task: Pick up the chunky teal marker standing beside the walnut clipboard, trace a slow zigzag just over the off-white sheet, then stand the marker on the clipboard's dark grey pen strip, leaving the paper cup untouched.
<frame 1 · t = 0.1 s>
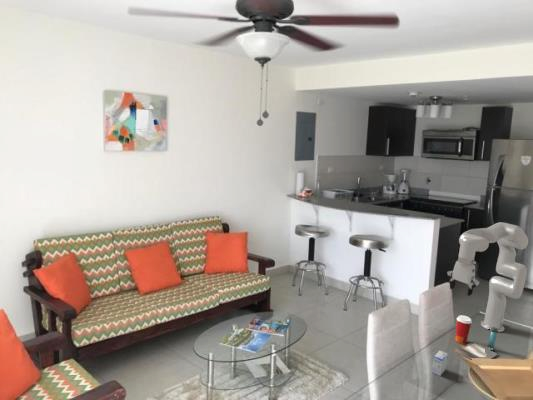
hand: (460, 291, 230), 31 cm above the table, fingers open, 9 cm apart
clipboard: (476, 353, 229), on the table
paper cup: (460, 341, 241), on the table
medicine box: (438, 371, 210), on the table
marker: (490, 349, 235), on the table
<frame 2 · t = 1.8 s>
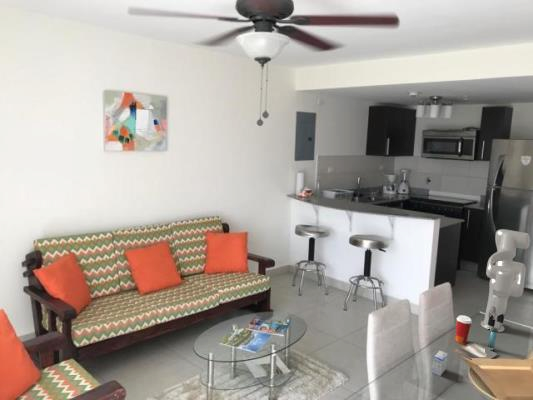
hand: (495, 323, 232), 15 cm above the table, fingers open, 9 cm apart
nothing on the table moved.
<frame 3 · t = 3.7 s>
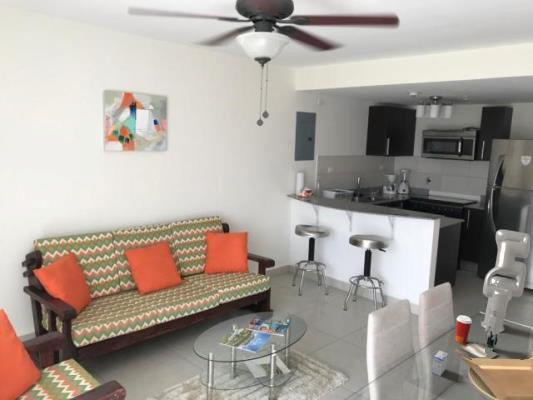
hand: (491, 344, 235), 3 cm above the table, fingers closed on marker, 2 cm apart
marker: (490, 349, 235), on the table, touching gripper
everything else where it was.
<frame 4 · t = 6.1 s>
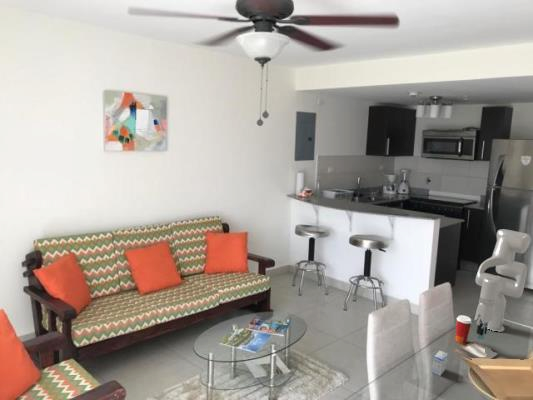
hand: (481, 333, 232), 9 cm above the table, fingers closed on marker, 2 cm apart
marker: (480, 338, 233), point 6 cm above the table, touching gripper
everything else where it was.
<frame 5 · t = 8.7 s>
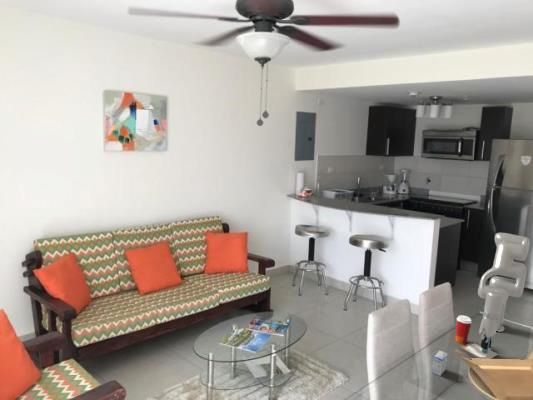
hand: (485, 347, 229), 4 cm above the table, fingers closed on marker, 2 cm apart
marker: (484, 352, 229), point 1 cm above the table, touching gripper
everything else where it was.
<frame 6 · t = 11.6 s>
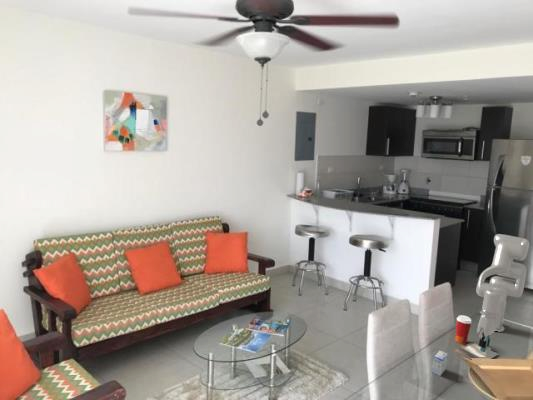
hand: (483, 345, 225), 6 cm above the table, fingers closed on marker, 2 cm apart
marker: (482, 350, 226), point 3 cm above the table, touching gripper
everything else where it was.
when the fingers open (5 cm above the table, at t = 14.0 s): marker stays where it is, resting on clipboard.
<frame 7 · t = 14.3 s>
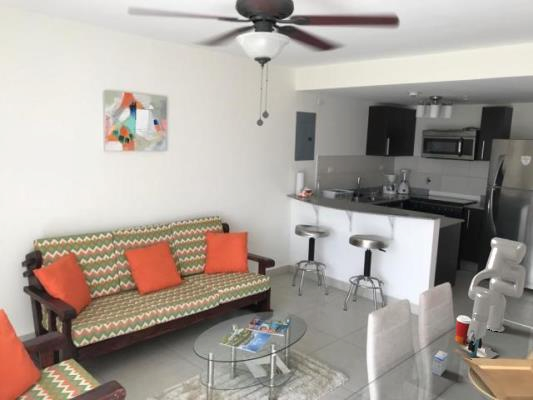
hand: (474, 348, 223), 5 cm above the table, fingers open, 6 cm apart
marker: (473, 356, 224), point 1 cm above the table, touching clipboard
everything else where it was.
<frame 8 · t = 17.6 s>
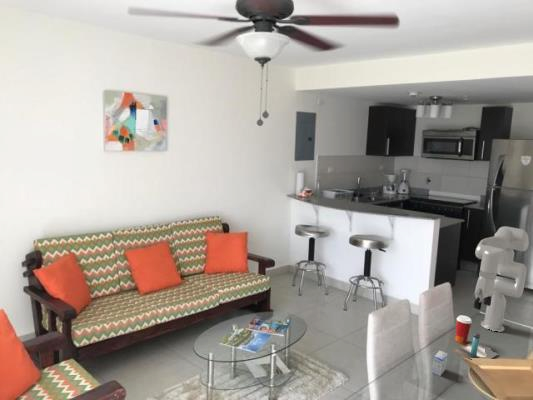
hand: (482, 306, 219), 28 cm above the table, fingers open, 9 cm apart
nothing on the table moved.
at the end: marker inside the target area on the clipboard (1.0 cm from its centre), point 1.1 cm above the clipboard's base; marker tilted 1°; the gripper is holding nothing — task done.
